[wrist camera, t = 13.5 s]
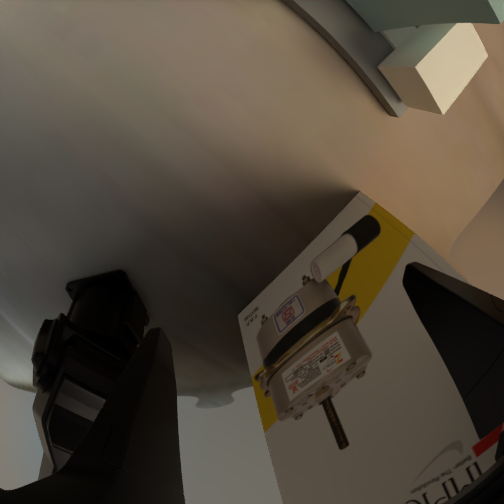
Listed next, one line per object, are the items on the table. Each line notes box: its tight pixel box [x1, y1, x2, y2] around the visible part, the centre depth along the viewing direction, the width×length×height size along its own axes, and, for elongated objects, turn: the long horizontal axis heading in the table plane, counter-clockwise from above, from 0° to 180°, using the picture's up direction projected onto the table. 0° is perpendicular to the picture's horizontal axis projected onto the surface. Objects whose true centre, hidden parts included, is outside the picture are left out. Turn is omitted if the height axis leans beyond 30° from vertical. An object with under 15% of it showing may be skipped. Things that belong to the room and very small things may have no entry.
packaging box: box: [238, 191, 504, 504], centre depth 18 cm, size 16×16×25 cm
